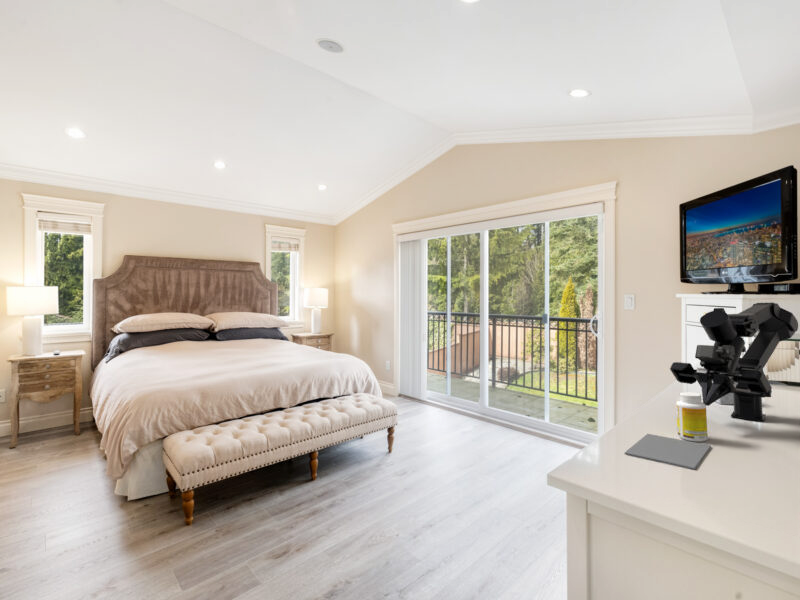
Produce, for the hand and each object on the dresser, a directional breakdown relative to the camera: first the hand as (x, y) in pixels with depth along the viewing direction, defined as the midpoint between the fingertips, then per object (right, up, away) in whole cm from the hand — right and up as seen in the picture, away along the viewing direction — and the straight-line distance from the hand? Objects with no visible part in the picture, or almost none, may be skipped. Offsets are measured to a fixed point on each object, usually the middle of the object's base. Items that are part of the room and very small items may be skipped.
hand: (705, 404), depth 95 cm
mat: (-16, -7, -10) cm, 20 cm away
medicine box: (+26, -7, +28) cm, 38 cm away
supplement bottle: (-6, -7, -3) cm, 10 cm away
